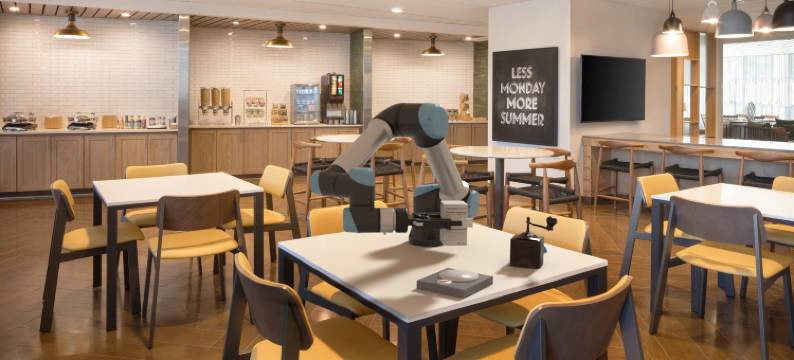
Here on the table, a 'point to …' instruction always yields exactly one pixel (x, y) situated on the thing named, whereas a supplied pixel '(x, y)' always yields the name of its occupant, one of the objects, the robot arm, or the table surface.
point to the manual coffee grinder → (529, 246)
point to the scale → (455, 282)
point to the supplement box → (455, 234)
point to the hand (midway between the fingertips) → (469, 220)
